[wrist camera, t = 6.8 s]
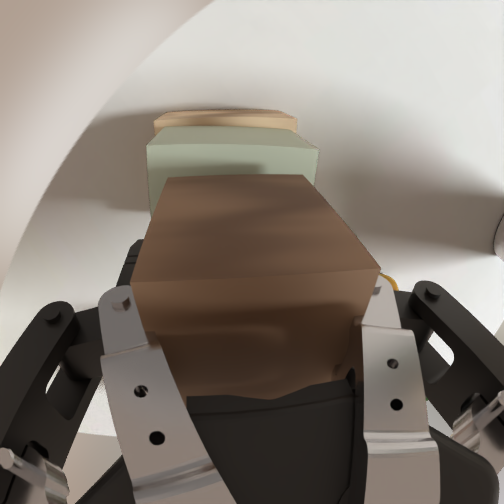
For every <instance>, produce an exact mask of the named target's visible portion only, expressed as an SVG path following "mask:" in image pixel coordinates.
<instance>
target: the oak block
mask: <svg viewBox="0 0 504 504" xmlns="http://www.w3.org/2000/svg"><path fill="white" fill-rule="evenodd" d="M168 126H241V127H262V128H276V129H289V130H291V131H293V132H294V133H296V127H297V119H296V118H294V117H292V116H290V115H287V114H285V113H283V112H281V111H275V110H195V111H178V112H166V113H165V114H163V115H162V116H160V117H159V118H157V119H156V120H154V132H155V136H156V135H157V134H158V133H159V132H160V131H161V130H162V129H163V128H164V127H168Z"/></svg>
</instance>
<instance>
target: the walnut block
mask: <svg viewBox="0 0 504 504" xmlns="http://www.w3.org/2000/svg"><path fill="white" fill-rule="evenodd" d="M380 270H381V267H380V266H379V265H378V264H377V262H376V261H375V260H374V258H373V257H372V256H371V254H370V253H369V252H368V251H367V249H366V248H365V247H364V246H363V244H362V243H361V242H360V241H359V239H358V238H357V237H356V236H355V234H354V233H353V232H352V231H351V229H350V228H349V227H348V226H347V225H346V223H345V222H344V221H343V220H342V219H341V217H340V216H339V215H338V214H337V213H336V212H335V210H334V209H333V208H332V207H331V206H330V205H329V203H328V202H327V201H326V200H325V199H324V198H323V196H322V195H321V194H320V193H319V192H318V191H317V190H316V189H315V187H314V186H313V185H312V184H311V183H310V182H309V181H308V180H307V179H306V177H305V176H304V175H299V174H236V175H204V176H184V177H168V178H167V180H166V183H165V185H164V187H163V190H162V192H161V195H160V197H159V200H158V203H157V205H156V208H155V210H154V213H153V216H152V218H151V221H150V224H149V227H148V229H147V232H146V235H145V238H144V241H143V243H142V246H141V249H140V252H139V255H138V258H137V261H136V264H135V268H134V271H133V274H132V277H131V280H130V285H131V288H132V292H133V296H134V299H135V303H136V306H137V309H138V313H139V316H140V319H141V323H142V326H143V329H144V331H155V333H156V336H157V339H158V340H159V342H160V345H161V347H162V350H163V353H164V356H165V358H166V361H167V363H168V366H169V369H170V371H171V374H172V376H173V379H174V381H175V383H176V386H177V388H178V391H179V393H180V395H181V398H182V400H183V402H184V405H185V407H186V396H208V395H227V394H228V395H235V396H242V397H249V398H258V399H267V400H272V399H276V398H279V397H282V396H284V395H287V394H290V393H292V392H295V391H297V390H300V389H302V388H305V387H307V386H310V385H314V384H320V383H326V382H331V374H332V371H333V369H334V367H335V365H338V364H342V362H343V359H344V357H345V355H346V352H347V349H348V344H349V329H350V326H351V323H352V320H353V318H354V316H359V315H365V313H366V310H367V307H368V305H369V302H370V299H371V296H372V293H373V291H374V288H375V285H376V282H377V279H378V276H379V273H380Z"/></svg>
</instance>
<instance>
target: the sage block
mask: <svg viewBox="0 0 504 504" xmlns="http://www.w3.org/2000/svg"><path fill="white" fill-rule="evenodd" d="M146 152H147V173H148V188H149V201H150V213H151V218H152V216H153V213H154V210H155V208H156V205H157V203H158V200H159V197H160V195H161V192H162V190H163V187H164V185H165V183H166V180H167V178H168V177H184V176H204V175H236V174H299V175H304V176H305V177H306V179H307V180H308V181H309V182H310V183H311V184H312V185H313V186H314V181H315V175H316V169H317V162H318V155H319V149H317V148H316V147H315V146H313V145H312V144H310V143H309V142H307V141H306V140H304V139H303V138H302V137H300V136H299V135H297V134H296V133H294V132H293V131H291V130H289V129H276V128H262V127H241V126H168V127H164V128H163V129H162V130H161V131H160V132H159V133H158V134H157V135H156V136H155V137H154V138H153V139H152V140H151V141H150V142H149V143H148V144H147V145H146Z"/></svg>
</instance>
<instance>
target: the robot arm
mask: <svg viewBox="0 0 504 504" xmlns="http://www.w3.org/2000/svg"><path fill="white" fill-rule="evenodd" d="M143 241H144V239H139V240H137V241H136V242H135V243H134V244H133V245H132V246H131V247H130V249H129V252H128V255H127V257H126V260H125V264H124V265H123V268H122V271H121V273H120V276H119V279H118V282H117V285H116V287H114V288H112V289H110V290H108V291H107V292H105V293H104V294H103V295H102V296H101V298H100V300H99V303H98V307H95V308H92V309H88V310H84V311H80V312H76V313H75V312H74V309H73V307H72V306H71V305H70V304H69V303H67V302H64V301H57V302H53V303H50V304H48V305H46V306H45V307H43V308H42V309H41V310H40V311H39V312H38V313H37V315H36V316H35V317H34V319H33V320H32V321H31V323H30V324H29V325H28V327H27V328H26V330H25V331H24V332H23V334H22V335H21V337H20V338H19V339H18V341H17V342H16V344H15V345H14V347H13V348H12V350H11V351H10V352H9V354H8V355H7V357H6V359H5V360H4V362H3V363H2V365H1V366H0V504H67V501H66V497H67V496H68V495H69V487H68V484H67V479H66V476H65V474H64V472H63V471H62V469H63V466H64V463H65V461H66V458H67V456H68V453H69V451H70V448H71V446H72V443H73V441H74V438H75V436H76V434H77V431H78V429H79V427H80V424H81V422H82V420H83V418H84V415H85V413H86V411H87V409H88V406H89V404H90V402H91V400H92V398H93V396H94V393H95V391H96V389H97V387H98V385H99V383H100V381H101V379H102V376H103V379H104V384H105V389H106V393H107V398H108V402H109V407H110V411H111V415H112V419H113V423H114V427H115V430H116V434H117V437H118V441H119V444H120V448H121V451H122V455H121V456H120V457H119V459H118V460H117V461H116V462H115V463H114V464H113V465H112V466H111V467H110V468H109V469H108V470H107V471H106V472H105V473H104V474H103V475H102V477H101V478H100V479H99V480H98V481H97V482H96V483H95V484H94V485H93V486H92V487H91V488H90V489H89V490H88V491H87V492H86V493H85V494H84V495H83V496H82V497H81V498H80V499H79V500H78V501H77V502H76V503H75V504H498V499H499V481H498V476H497V474H498V473H499V471H501V469H502V468H503V467H504V346H503V345H502V344H501V343H500V342H499V341H498V340H497V339H496V338H495V337H494V336H493V335H492V334H491V333H490V332H489V331H488V330H487V329H486V328H485V327H484V326H483V325H482V324H481V323H480V322H479V321H478V320H477V319H476V318H475V317H474V316H473V315H472V314H471V313H470V312H469V311H468V310H467V309H466V308H465V307H463V306H462V305H461V304H460V303H459V302H458V301H457V300H456V299H455V298H454V297H452V296H451V295H450V294H449V293H448V292H447V291H446V290H445V289H444V288H442V287H441V286H440V285H438V284H436V283H434V282H431V281H419V282H417V283H416V284H415V286H414V289H413V291H412V292H405V291H398V290H393V288H392V285H391V284H390V282H389V281H388V280H387V279H385V278H384V277H382V276H380V275H379V276H378V279H377V282H376V285H375V288H374V291H373V293H372V296H371V299H370V302H369V305H368V307H367V310H366V313H365V315H359V316H354V318H353V320H352V323H351V326H350V329H349V344H348V349H347V352H346V355H345V357H344V359H343V362H342V364H338V365H335V367H334V369H333V371H332V374H331V382H326V383H320V384H314V385H310V386H307V387H305V388H302V389H300V390H297V391H295V392H292V393H290V394H287V395H284V396H282V397H279V398H276V399H272V400H267V399H258V398H249V397H242V396H235V395H228V394H227V395H208V396H186V407H185V405H184V402H183V400H182V398H181V395H180V393H179V391H178V388H177V386H176V383H175V381H174V379H173V376H172V374H171V371H170V369H169V366H168V363H167V361H166V358H165V356H164V353H163V350H162V347H161V345H160V342H159V340H158V339H157V336H156V333H155V331H144V329H143V326H142V323H141V319H140V316H139V313H138V309H137V306H136V303H135V299H134V296H133V292H132V288H131V285H130V280H131V277H132V274H133V271H134V268H135V264H136V261H137V258H138V255H139V252H140V249H141V246H142V243H143ZM494 251H495V254H496V255H497V256H498V257H500V258H501V259H502V260H503V261H504V216H503V218H502V220H501V222H500V224H499V227H498V229H497V232H496V235H495V240H494ZM433 332H435V333H436V334H437V335H438V336H439V337H440V338H441V339H442V340H443V341H444V342H445V343H446V344H447V345H448V346H449V347H450V348H451V350H452V351H453V353H454V361H453V363H452V365H451V366H450V365H449V364H448V363H447V362H446V361H445V360H444V359H443V358H442V357H441V355H440V354H439V353H438V352H437V351H436V350H435V349H434V348H433V347H432V346H431V345H430V344H429V342H428V340H429V338H430V337H431V335H432V333H433ZM58 365H59V366H60V367H61V368H60V370H59V371H58V373H57V375H56V377H55V378H54V380H53V382H52V384H51V386H50V388H49V389H48V391H47V393H46V387H47V384H48V382H49V380H50V379H51V377H52V375H53V373H54V372H55V370H56V368H57V366H58ZM425 396H426V397H427V399H428V400H429V401H430V402H431V404H432V405H433V406H434V407H435V408H436V410H437V411H438V412H439V414H440V415H441V416H442V417H443V419H444V420H445V421H446V422H447V424H448V425H449V426H450V427H451V429H452V430H453V434H452V435H451V436H450V438H449V437H448V436H446V435H444V434H443V433H441V432H439V431H438V430H436V429H434V428H433V427H431V426H429V425H428V417H427V416H428V415H427V407H426V399H425Z"/></svg>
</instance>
